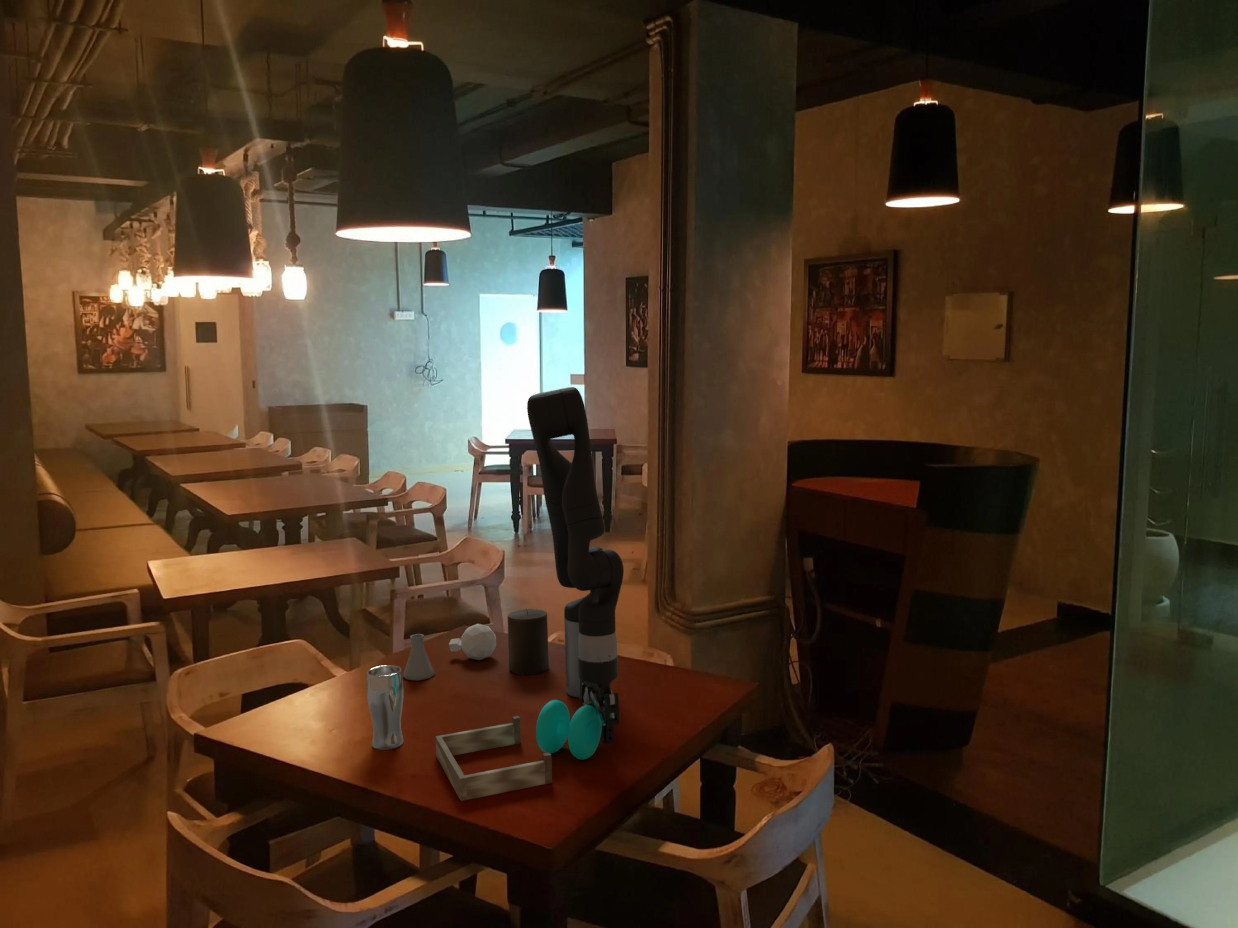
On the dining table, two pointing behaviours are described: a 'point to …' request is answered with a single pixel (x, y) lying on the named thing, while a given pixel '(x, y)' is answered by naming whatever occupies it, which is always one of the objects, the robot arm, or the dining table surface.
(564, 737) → the teal diabolo
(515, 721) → the box
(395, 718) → the beer glass
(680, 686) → the dining table surface
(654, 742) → the dining table surface
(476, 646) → the perfume bottle
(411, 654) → the flask
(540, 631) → the pillar candle
